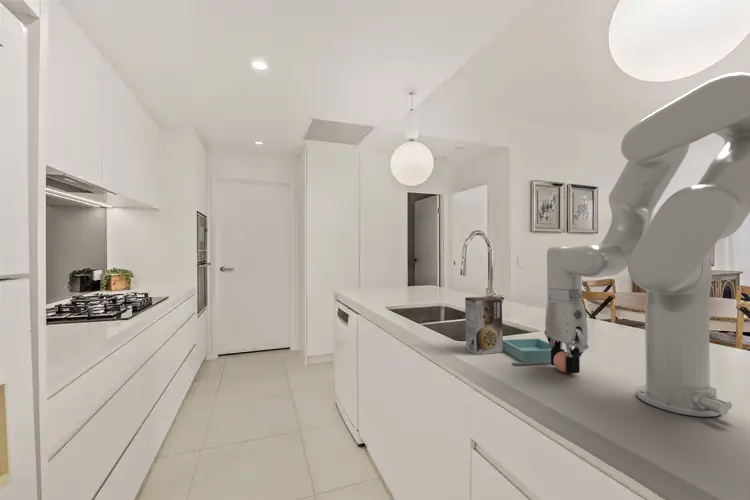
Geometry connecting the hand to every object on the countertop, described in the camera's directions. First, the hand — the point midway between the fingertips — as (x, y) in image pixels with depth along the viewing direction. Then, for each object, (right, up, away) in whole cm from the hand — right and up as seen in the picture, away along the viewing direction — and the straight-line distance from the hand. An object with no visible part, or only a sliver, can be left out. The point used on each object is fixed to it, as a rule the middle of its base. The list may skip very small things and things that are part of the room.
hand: (564, 368), depth 85 cm
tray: (-2, -1, +14) cm, 15 cm away
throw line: (-3, -1, +6) cm, 7 cm away
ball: (0, +2, 0) cm, 2 cm away
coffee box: (-14, -1, +18) cm, 23 cm away
